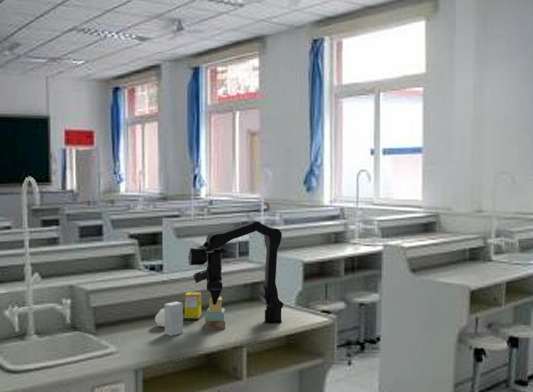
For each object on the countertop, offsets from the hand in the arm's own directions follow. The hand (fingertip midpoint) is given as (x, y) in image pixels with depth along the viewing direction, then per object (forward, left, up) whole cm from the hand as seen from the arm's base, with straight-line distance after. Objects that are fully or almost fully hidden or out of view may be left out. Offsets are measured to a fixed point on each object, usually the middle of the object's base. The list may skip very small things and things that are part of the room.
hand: (214, 301), depth 240 cm
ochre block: (-1, 0, -4) cm, 4 cm away
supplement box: (+9, -13, -10) cm, 19 cm away
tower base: (0, 0, -10) cm, 11 cm away
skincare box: (+16, +9, -10) cm, 21 cm away
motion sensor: (+20, -1, -10) cm, 22 cm away
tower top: (-1, 0, -7) cm, 7 cm away
